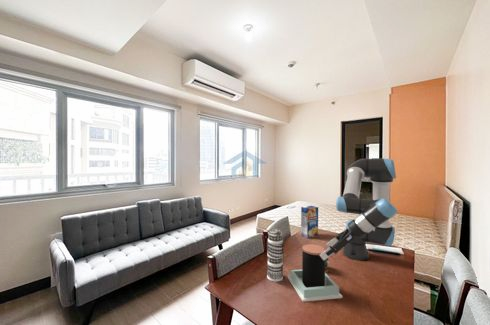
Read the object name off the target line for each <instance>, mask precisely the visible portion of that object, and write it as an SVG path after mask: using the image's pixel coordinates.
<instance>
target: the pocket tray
mask: <svg viewBox="0 0 490 325" xmlns="http://www.w3.org/2000/svg"><path fill="white" fill-rule="evenodd" d="M289 272H290V273H289V275H287V279H288V281H289V282H290V283H291V286H292V287H293V288H294V290H295V292H296V293H297V295H298V296H299V298H300V300H301V301H302V302H305V303H306V302H315V301H324V300H333V299H334V300H335V299H342V298H343V295H342V294H341V293H340V286H339V285H338V284H337V283H336V282H335V281H334V280H333V279H332V278H331V277H330V276H328V274H327V272H325V286H320V287H308V288H306V287H305V286H304V284H303V282H302V269H301V268H300V269H291V270H290V271H289Z"/></svg>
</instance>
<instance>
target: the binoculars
mask: <svg viewBox="0 0 490 325" xmlns="http://www.w3.org/2000/svg"><path fill="white" fill-rule="evenodd" d="M328 260H329V257H328V258H327V259H325V273H328V272H329V269H328V266H329V264H328Z"/></svg>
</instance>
